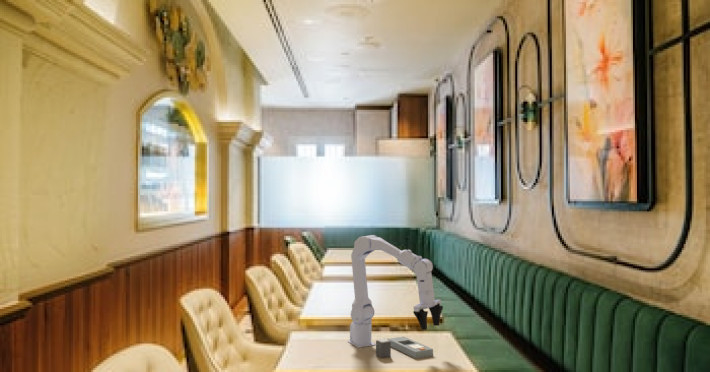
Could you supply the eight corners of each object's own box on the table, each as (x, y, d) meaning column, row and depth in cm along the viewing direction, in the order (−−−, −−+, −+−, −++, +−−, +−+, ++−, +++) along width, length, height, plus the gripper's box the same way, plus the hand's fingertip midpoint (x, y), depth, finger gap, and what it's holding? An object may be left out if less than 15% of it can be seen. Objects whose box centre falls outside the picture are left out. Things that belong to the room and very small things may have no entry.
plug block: (375, 355, 199) (375, 339, 199) (385, 354, 201) (385, 338, 201) (381, 358, 196) (381, 342, 196) (390, 357, 197) (390, 340, 198)
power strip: (387, 345, 213) (387, 337, 213) (403, 342, 217) (403, 335, 217) (415, 358, 195) (415, 350, 196) (433, 355, 199) (433, 347, 199)
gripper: (422, 294, 194) (427, 332, 193) (445, 288, 204) (450, 323, 203) (407, 294, 199) (412, 331, 198) (431, 288, 209) (435, 323, 208)
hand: (430, 327), depth 200 cm, fingers open, 7 cm apart
